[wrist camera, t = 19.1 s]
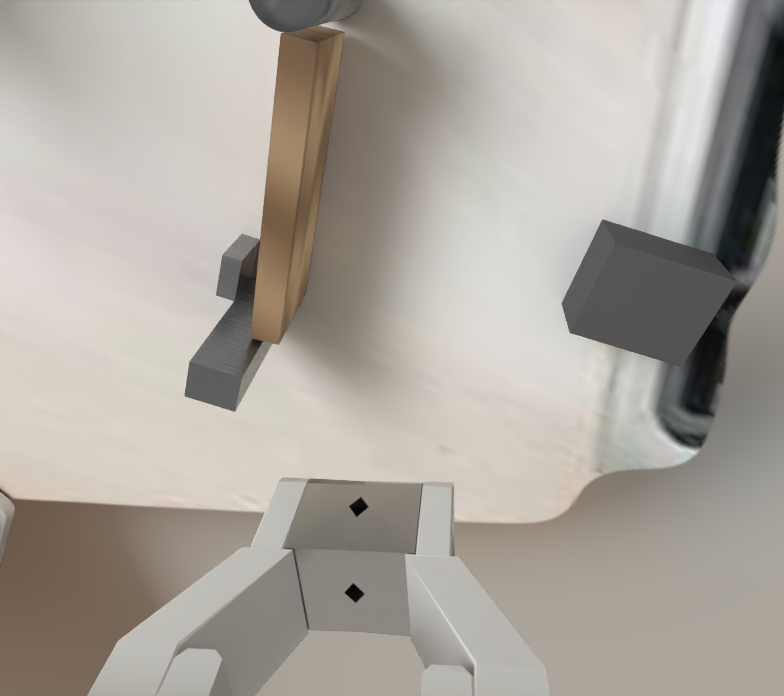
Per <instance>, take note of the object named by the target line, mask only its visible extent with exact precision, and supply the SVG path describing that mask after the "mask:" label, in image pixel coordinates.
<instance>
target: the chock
mask: <svg viewBox="0 0 784 696" xmlns="http://www.w3.org/2000/svg"><path fill="white" fill-rule="evenodd" d="M736 282H737V280H736V279H735V278H734V277H733V276H732V275H731V274H730V273H729V271H728V270H727V269H726V268H725V267H724V266H723V265H722V264H721V262H720V261H719V260H718V259H717V258H716V257H715V256H714V255H713V254H711V253H708V252H705V251H702V250H698V249H695V248H692V247H689V246H686V245H682V244H679V243H676V242H673V241H670V240H666V239H663V238H660V237H657V236H654V235H650V234H647V233H644V232H641V231H638V230H635V229H631V228H628V227H625V226H622V225H619V224H615V223H612V222H609V221H606V220H603V219H602V222H601V224H600V226H599V228H598V230H597V232H596V234H595V236H594V238H593V240H592V242H591V244H590V246H589V248H588V250H587V252H586V254H585V256H584V259H583V261H582V263H581V265H580V267H579V269H578V271H577V273H576V275H575V277H574V279H573V281H572V283H571V285H570V287H569V289H568V291H567V293H566V296H565V298H564V300H563V302H562V306H563V310H564V313H565V317H566V321H567V324H568V328H569V331H570V333H572V334H575V335H579V336H582V337H585V338H589V339H592V340H595V341H598V342H602V343H605V344H608V345H612V346H615V347H618V348H621V349H625V350H628V351H631V352H635V353H638V354H641V355H645V356H648V357H651V358H654V359H658V360H661V361H664V362H668V363H671V364H674V365H677V366H681V367H682V365H683V364H684V362H685V361H686V359H687V358H688V356H689V355H690V353H691V352H692V350H693V349H694V347H695V345H696V344H697V342H698V341H699V339H700V338H701V336H702V335H703V333H704V332H705V330H706V329H707V327H708V325H709V324H710V322H711V321H712V319H713V318H714V316H715V315H716V313H717V312H718V310H719V309H720V307H721V305H722V304H723V302H724V301H725V299H726V298H727V296H728V295H729V293H730V292H731V290H732V289H733V287H734V285H735V284H736Z"/></svg>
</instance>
